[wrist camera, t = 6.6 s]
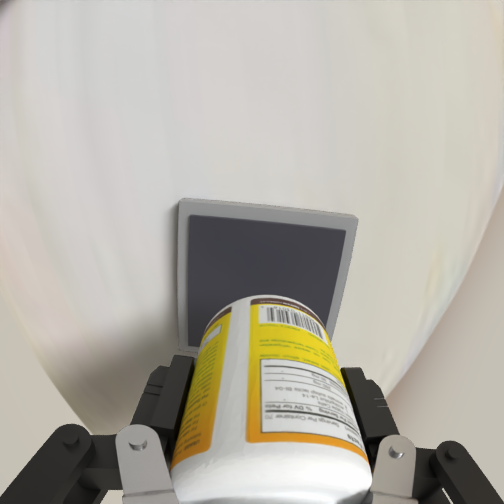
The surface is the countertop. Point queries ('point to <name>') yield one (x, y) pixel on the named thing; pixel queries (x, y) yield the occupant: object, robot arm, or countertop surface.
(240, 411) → the supplement bottle
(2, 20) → the countertop surface
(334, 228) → the ink pad
